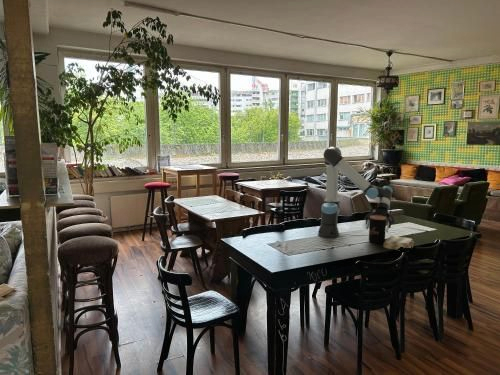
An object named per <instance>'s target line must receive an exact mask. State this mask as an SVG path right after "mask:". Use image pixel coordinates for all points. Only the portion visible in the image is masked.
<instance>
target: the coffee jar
mask: <svg viewBox="0 0 500 375" xmlns="http://www.w3.org/2000/svg"><path fill="white" fill-rule="evenodd" d="M370 218H371V219H370V223H369V226H368V241H369V243H370V244H374V245H384V242H385V241H386V228H387V219H386V217H384V216H379V215H373V214H372V216H370Z"/></svg>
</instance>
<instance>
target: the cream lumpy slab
mask: <svg viewBox="0 0 500 375" xmlns="http://www.w3.org/2000/svg"><path fill="white" fill-rule="evenodd" d="M414 243H415V241H414V240H413V238H409V237H404V236H399V235H398V236H396V235H389V236H388V237H387V238H385V242H384V243H383V248H385V249H390V250H396V251H398V250H397V249H398V248H400V247H403V248H411V247H412V248H414V245H415V244H414Z"/></svg>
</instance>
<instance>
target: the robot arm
mask: <svg viewBox="0 0 500 375" xmlns="http://www.w3.org/2000/svg"><path fill="white" fill-rule="evenodd" d="M322 156H323V159H324V166H325V167H326V181H325V182H326V184H325V186H326V192H325V194H326V195H325V199H323V203H322V205H321V208H320V209H321V213H320V214H321V216H320V226H319V229H318V233H317V236H319V237H320V238H328V239H335V238H338V237H339V236H340V232H339V228H338V217H339V216H338V215H339V214H340V211H341V207H340V203H341V202H340V199H339V198H338V196H339V195H338V193H339V192H338V191H339V188H338V187H339V171H340V173H342V174H343V175H344V176H345V177H346V178H347V179H348V180H349V181H350V182H352V183H353V184H354V185H355V186H356V187H357V188H358V189H360V190H361V191H362V192H363V193H364V195H366V197H367V198H368V199H371V200H374V199H376V198H379V199H378V202H377V206H376V209H374V208H371V210H369V212H368V213H367V214H366V215H365V216H364V217H363V218H364V221H365V229H366V230H369V226H370V219H371V218H370V216H372V215H379V216H384V217H386V222H387V224H386V231H385V233H389V229H391V228H392V225H395V219H394V217H393V213H392V212H393V211H392V210H389V207H390V203H391V198H392V197H393V196H392V195H393V190H394V189H393V188H392V187H391V185H390V186H389V185H384V186H382V187H380V186H377V185H374V184H371V183H370V182H369V181H368V180H367V179H365V177H364V176H362V175H361V174H360V173H359V172H358V171H357V170H356V169H355V168H353V167H352V166H351V165H350V164H349V163H348V162H347V161H346V160H345V158H344V157H343V156H342V151H341V150H340V148H339V147H337V146H329V147H327V148H326V149H325V150H324V152H323V155H322ZM388 215H389V216H388Z"/></svg>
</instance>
